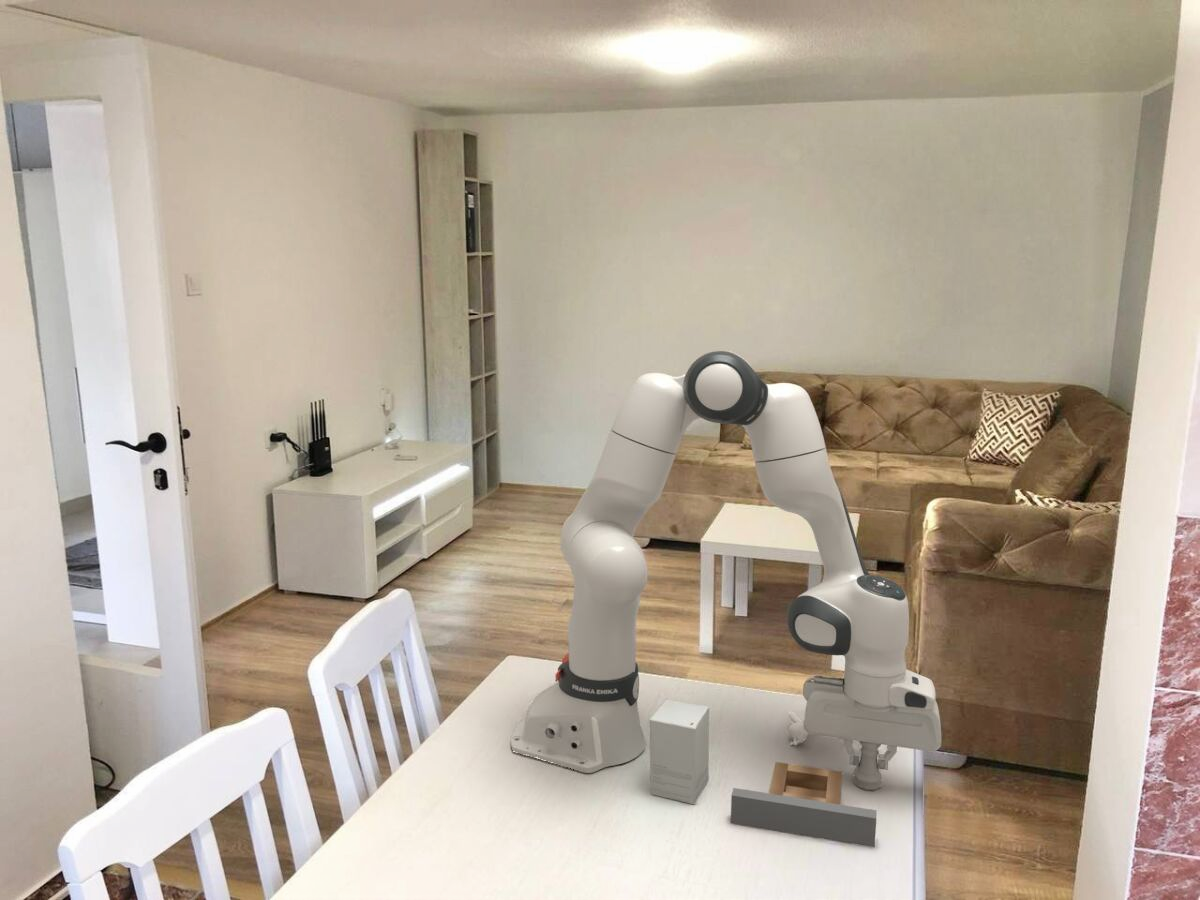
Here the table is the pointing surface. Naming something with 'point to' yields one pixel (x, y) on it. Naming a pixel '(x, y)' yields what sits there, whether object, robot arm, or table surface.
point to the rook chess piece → (868, 767)
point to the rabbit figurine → (796, 729)
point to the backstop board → (804, 817)
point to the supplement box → (679, 751)
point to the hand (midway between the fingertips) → (868, 765)
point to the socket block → (806, 782)
